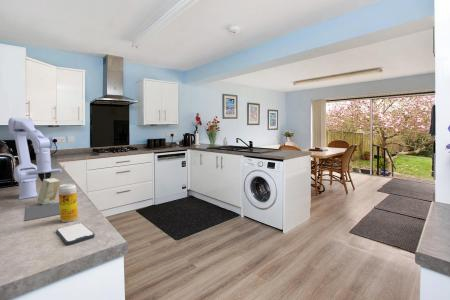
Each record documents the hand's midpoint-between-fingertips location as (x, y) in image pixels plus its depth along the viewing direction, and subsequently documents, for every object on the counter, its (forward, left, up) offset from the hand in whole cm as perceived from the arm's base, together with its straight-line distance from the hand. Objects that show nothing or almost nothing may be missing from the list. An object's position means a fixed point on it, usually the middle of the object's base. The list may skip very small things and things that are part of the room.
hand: (45, 187), depth 120 cm
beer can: (+35, +6, -8) cm, 36 cm away
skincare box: (+2, -1, -7) cm, 8 cm away
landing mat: (+15, -1, -8) cm, 17 cm away
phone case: (+52, +7, -9) cm, 53 cm away
